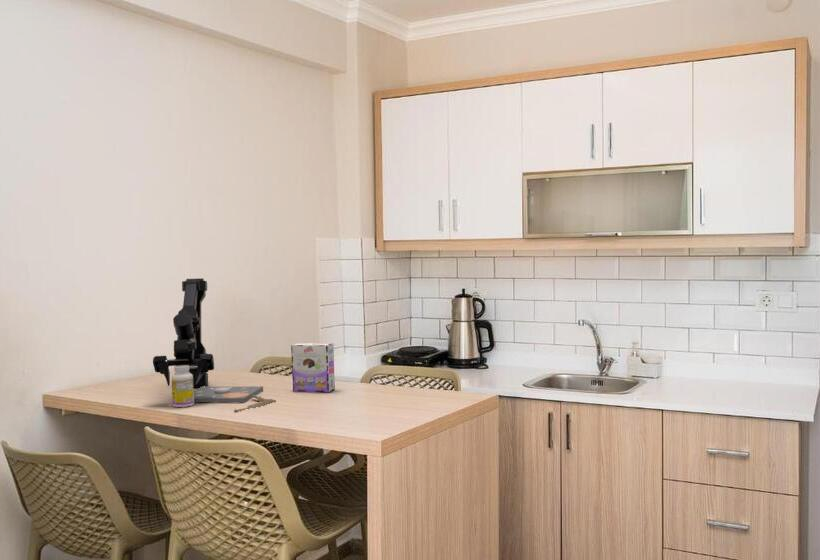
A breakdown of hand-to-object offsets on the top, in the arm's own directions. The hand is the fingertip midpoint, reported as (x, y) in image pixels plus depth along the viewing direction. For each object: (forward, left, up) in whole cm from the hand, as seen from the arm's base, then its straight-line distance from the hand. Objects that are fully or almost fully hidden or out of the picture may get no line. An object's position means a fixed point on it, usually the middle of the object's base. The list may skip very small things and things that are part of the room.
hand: (182, 384), depth 257 cm
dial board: (+7, +16, -7) cm, 19 cm away
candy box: (+36, +27, -7) cm, 46 cm away
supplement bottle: (0, +1, -7) cm, 7 cm away
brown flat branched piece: (+20, +2, -8) cm, 22 cm away
